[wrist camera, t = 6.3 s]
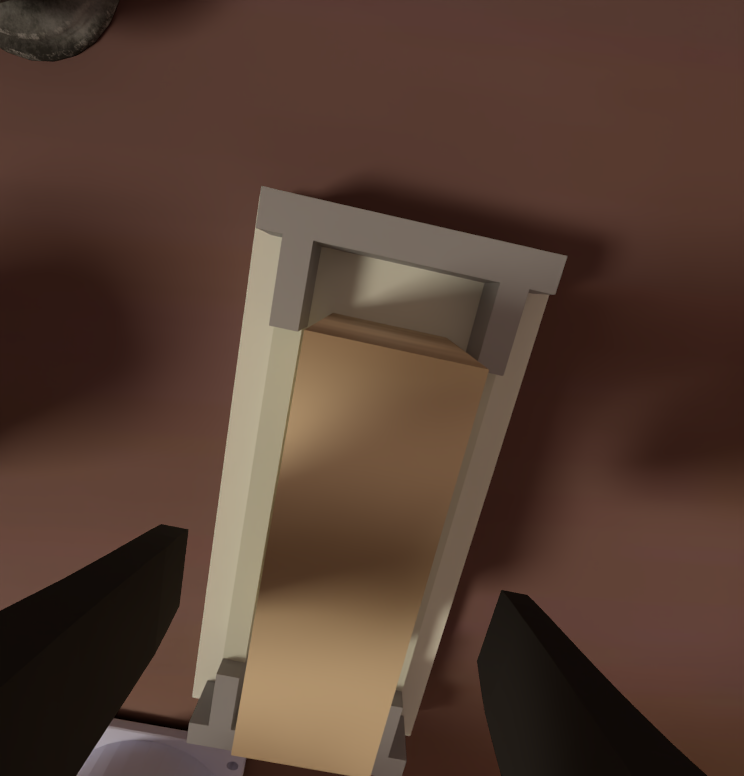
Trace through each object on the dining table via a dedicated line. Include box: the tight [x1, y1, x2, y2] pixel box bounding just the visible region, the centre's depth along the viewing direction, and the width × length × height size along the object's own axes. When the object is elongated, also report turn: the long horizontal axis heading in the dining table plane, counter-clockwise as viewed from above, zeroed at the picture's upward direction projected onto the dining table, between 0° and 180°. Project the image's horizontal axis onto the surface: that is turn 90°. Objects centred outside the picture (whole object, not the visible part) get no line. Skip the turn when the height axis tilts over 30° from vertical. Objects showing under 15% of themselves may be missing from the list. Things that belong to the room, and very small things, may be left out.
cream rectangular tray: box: [186, 186, 567, 776], centre depth 14 cm, size 19×9×3 cm, turn 168°
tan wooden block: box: [231, 313, 489, 776], centre depth 11 cm, size 11×4×5 cm, turn 168°
